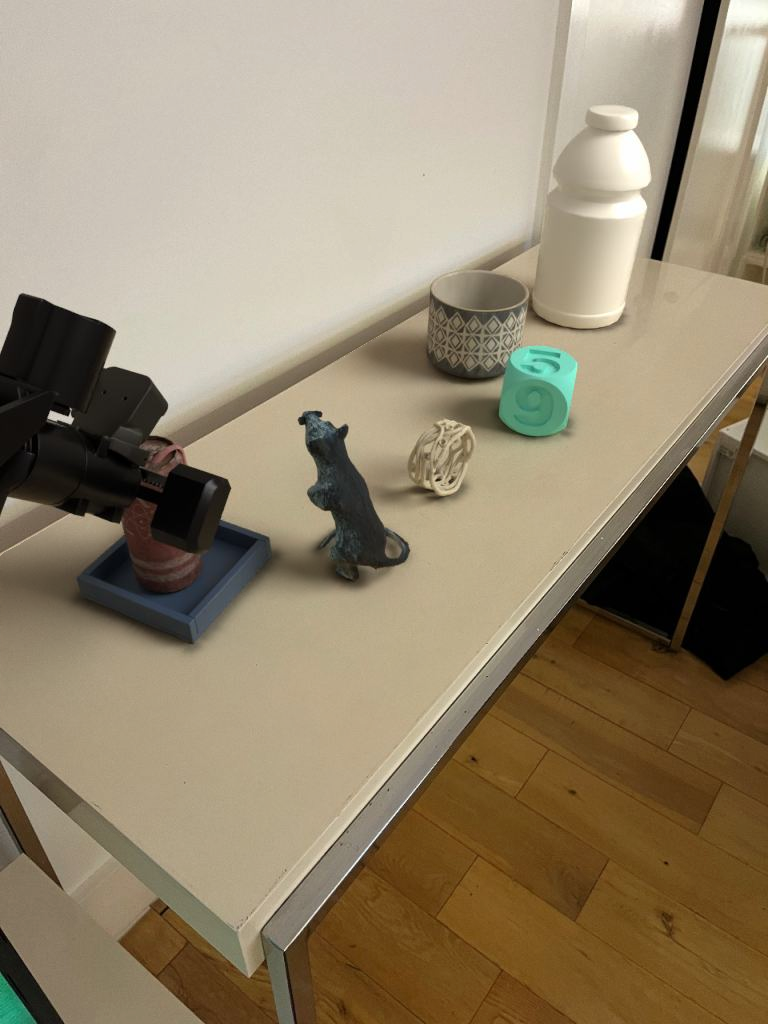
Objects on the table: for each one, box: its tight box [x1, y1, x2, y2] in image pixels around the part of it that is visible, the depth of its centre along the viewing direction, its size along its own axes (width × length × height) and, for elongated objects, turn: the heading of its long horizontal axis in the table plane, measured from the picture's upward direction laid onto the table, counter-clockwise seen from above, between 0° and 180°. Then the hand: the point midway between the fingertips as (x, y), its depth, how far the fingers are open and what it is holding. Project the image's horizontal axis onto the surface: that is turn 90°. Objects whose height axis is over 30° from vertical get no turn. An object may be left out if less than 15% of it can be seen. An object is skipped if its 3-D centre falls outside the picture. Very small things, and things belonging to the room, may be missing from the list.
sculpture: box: [297, 410, 411, 582], centre depth 72 cm, size 8×11×15 cm
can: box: [120, 434, 202, 594], centre depth 69 cm, size 6×6×14 cm
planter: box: [426, 269, 530, 379], centre depth 103 cm, size 13×13×10 cm
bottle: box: [531, 104, 652, 329], centre depth 110 cm, size 14×14×28 cm
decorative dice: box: [498, 345, 579, 437], centre depth 93 cm, size 8×8×8 cm
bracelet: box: [407, 418, 477, 497], centre depth 83 cm, size 4×8×8 cm, turn 141°
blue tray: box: [75, 519, 273, 645], centre depth 73 cm, size 13×13×2 cm
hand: (175, 499), depth 70 cm, fingers open, 9 cm apart
